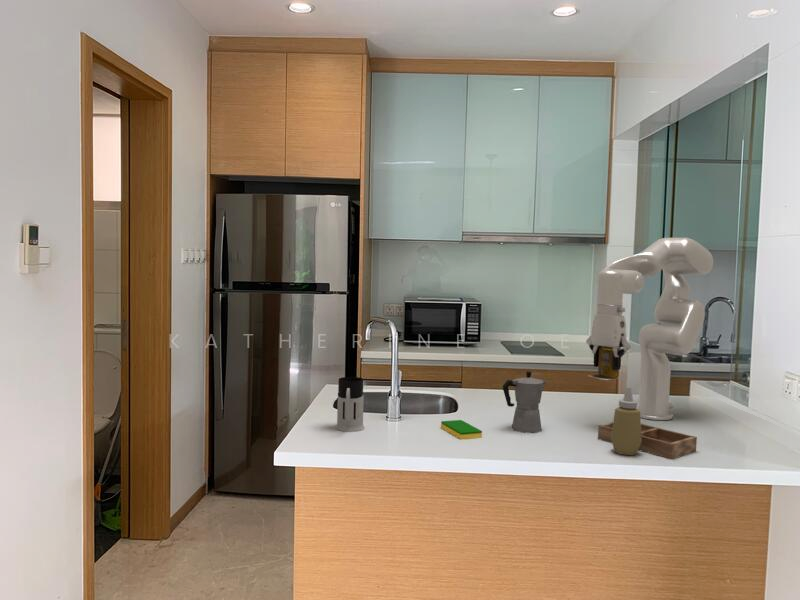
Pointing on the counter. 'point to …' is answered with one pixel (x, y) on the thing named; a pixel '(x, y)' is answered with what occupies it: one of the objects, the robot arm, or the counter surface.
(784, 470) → the counter surface
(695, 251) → the robot arm
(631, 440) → the squeeze bottle
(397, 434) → the counter surface
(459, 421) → the dish sponge
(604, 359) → the condiment
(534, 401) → the coffeepot
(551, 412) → the counter surface
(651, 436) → the caddy
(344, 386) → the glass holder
